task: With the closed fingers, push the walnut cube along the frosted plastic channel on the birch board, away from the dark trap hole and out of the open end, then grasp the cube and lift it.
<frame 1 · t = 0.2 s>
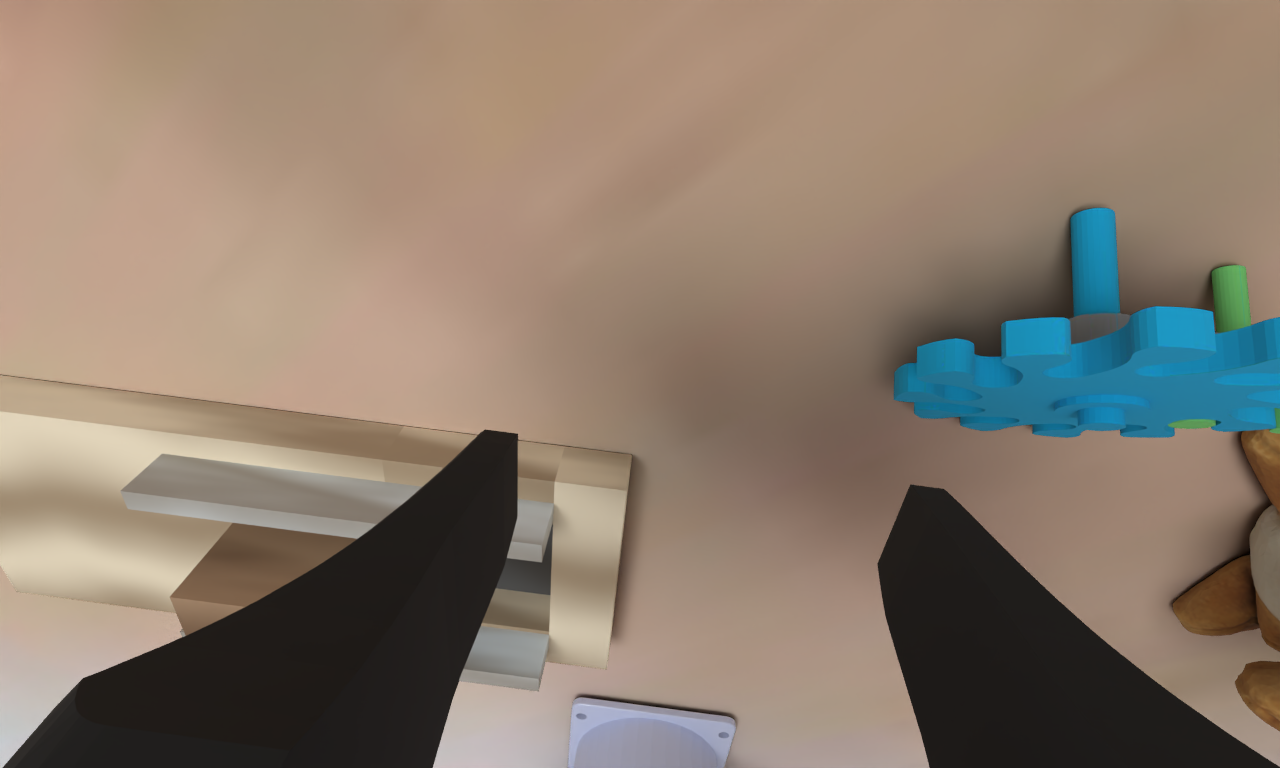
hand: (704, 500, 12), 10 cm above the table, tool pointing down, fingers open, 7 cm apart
walnut cube: (319, 551, 25), point 2 cm above the table, touching channel board
gear: (1051, 321, 21), on the table
channel board: (319, 512, 27), on the table
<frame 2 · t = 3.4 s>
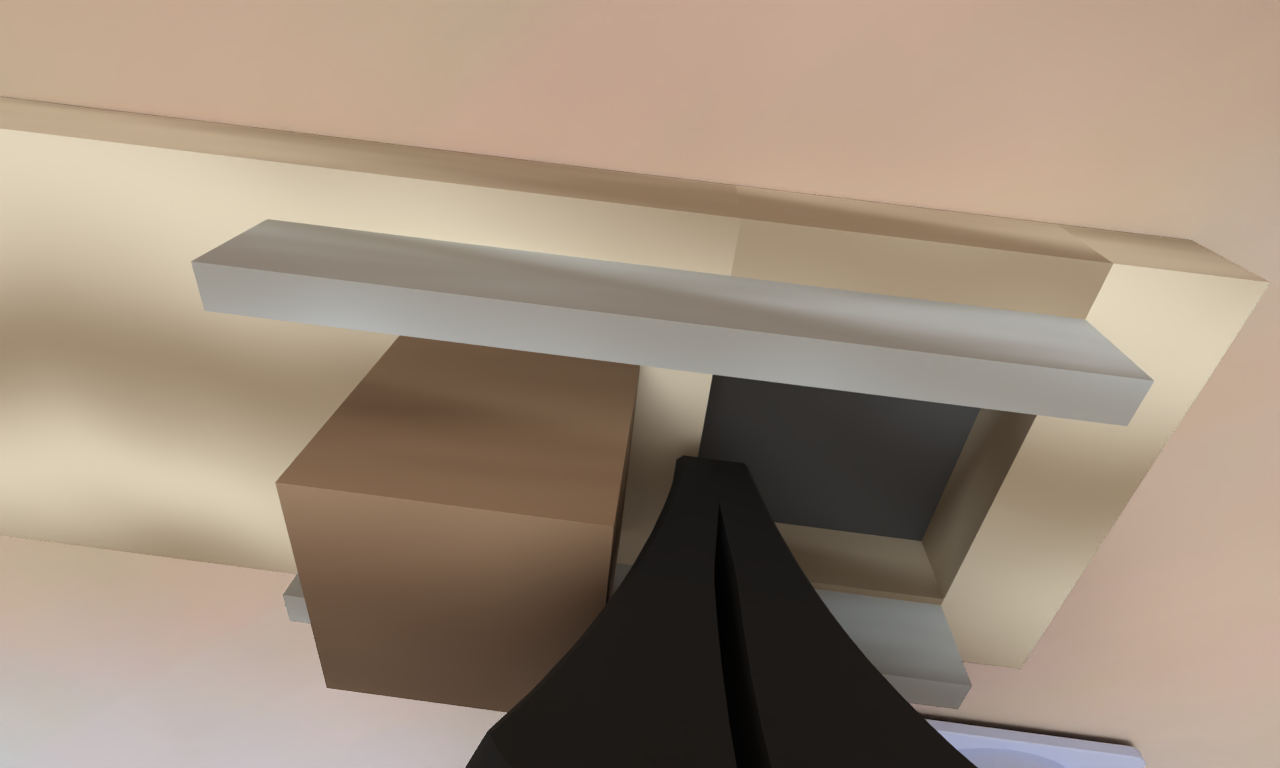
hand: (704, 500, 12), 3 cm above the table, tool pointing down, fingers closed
walnut cube: (522, 438, 13), point 2 cm above the table, touching gripper
channel board: (523, 384, 15), on the table
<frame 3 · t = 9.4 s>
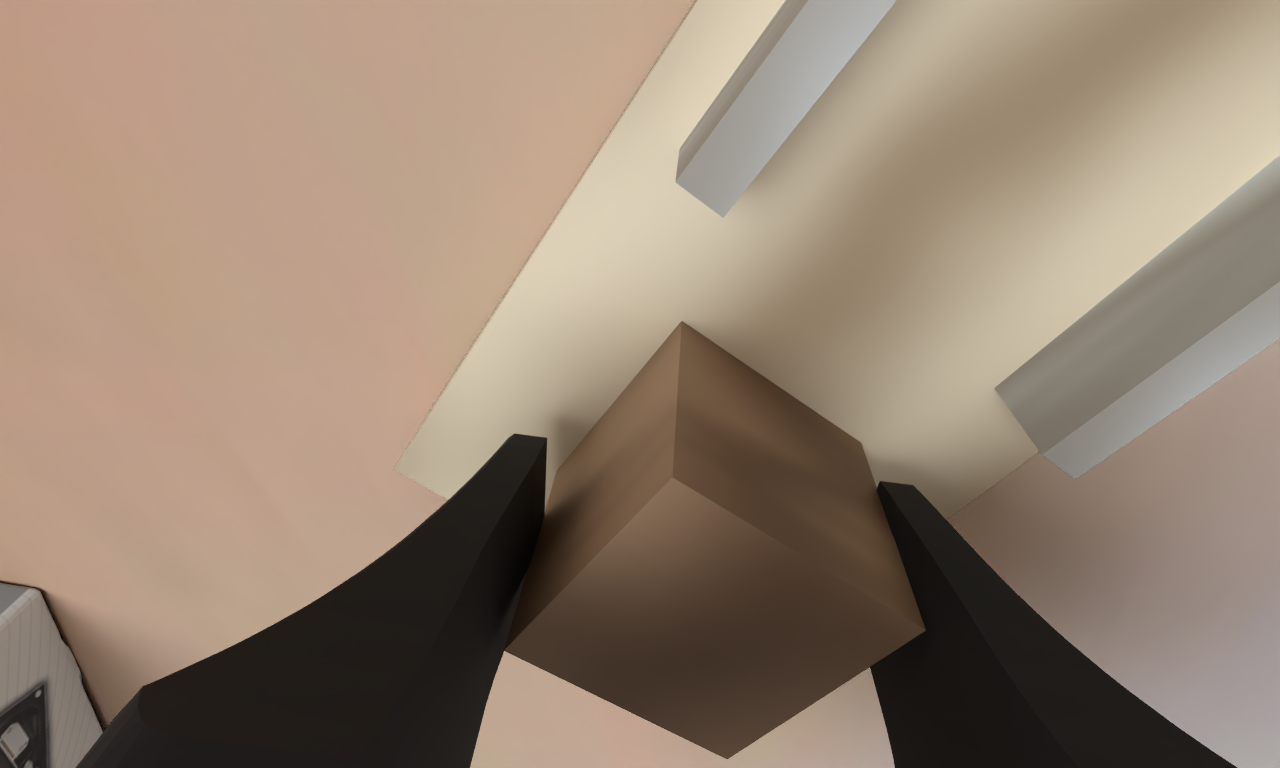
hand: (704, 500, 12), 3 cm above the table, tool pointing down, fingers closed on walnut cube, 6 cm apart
walnut cube: (703, 457, 13), point 2 cm above the table, touching channel board, gripper
hard drive box: (13, 700, 25), on the table
channel board: (1014, 68, 11), on the table
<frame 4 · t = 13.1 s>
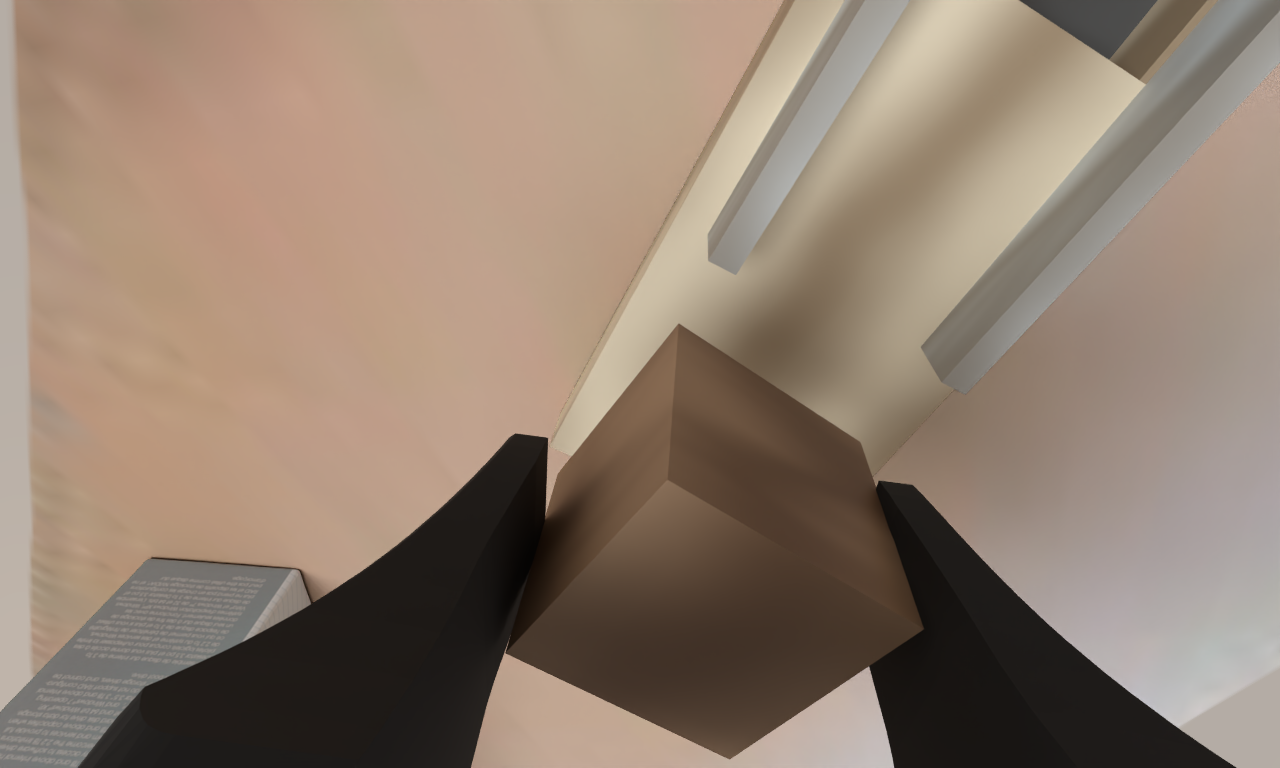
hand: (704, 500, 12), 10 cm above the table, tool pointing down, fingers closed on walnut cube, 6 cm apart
walnut cube: (703, 458, 14), point 9 cm above the table, touching gripper
hard drive box: (271, 661, 34), on the table
channel board: (901, 155, 19), on the table
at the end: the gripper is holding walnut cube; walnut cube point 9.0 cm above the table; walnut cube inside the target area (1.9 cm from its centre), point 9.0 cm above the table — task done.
